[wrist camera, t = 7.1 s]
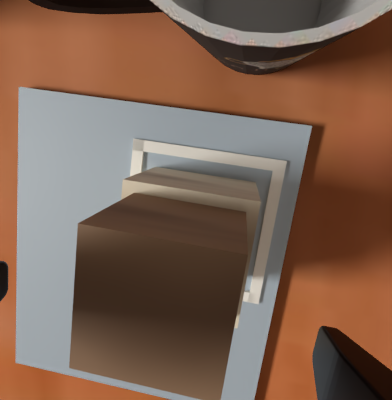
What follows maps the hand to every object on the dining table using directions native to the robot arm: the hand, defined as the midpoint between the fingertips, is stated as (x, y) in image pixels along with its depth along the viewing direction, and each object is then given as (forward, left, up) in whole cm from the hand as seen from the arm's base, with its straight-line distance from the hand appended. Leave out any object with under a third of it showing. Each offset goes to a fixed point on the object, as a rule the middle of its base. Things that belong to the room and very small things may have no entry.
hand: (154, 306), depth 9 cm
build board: (-3, +3, -10) cm, 11 cm away
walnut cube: (0, 0, -4) cm, 4 cm away
